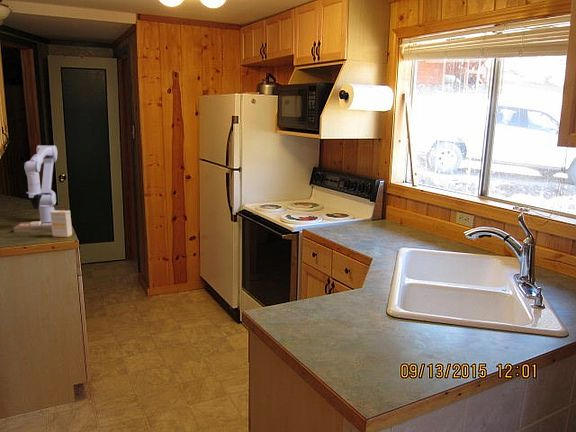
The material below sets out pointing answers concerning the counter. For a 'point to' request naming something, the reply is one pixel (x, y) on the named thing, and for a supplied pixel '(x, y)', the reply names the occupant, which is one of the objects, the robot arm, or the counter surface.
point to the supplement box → (61, 223)
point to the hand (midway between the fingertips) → (36, 208)
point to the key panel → (33, 228)
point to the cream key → (35, 223)
